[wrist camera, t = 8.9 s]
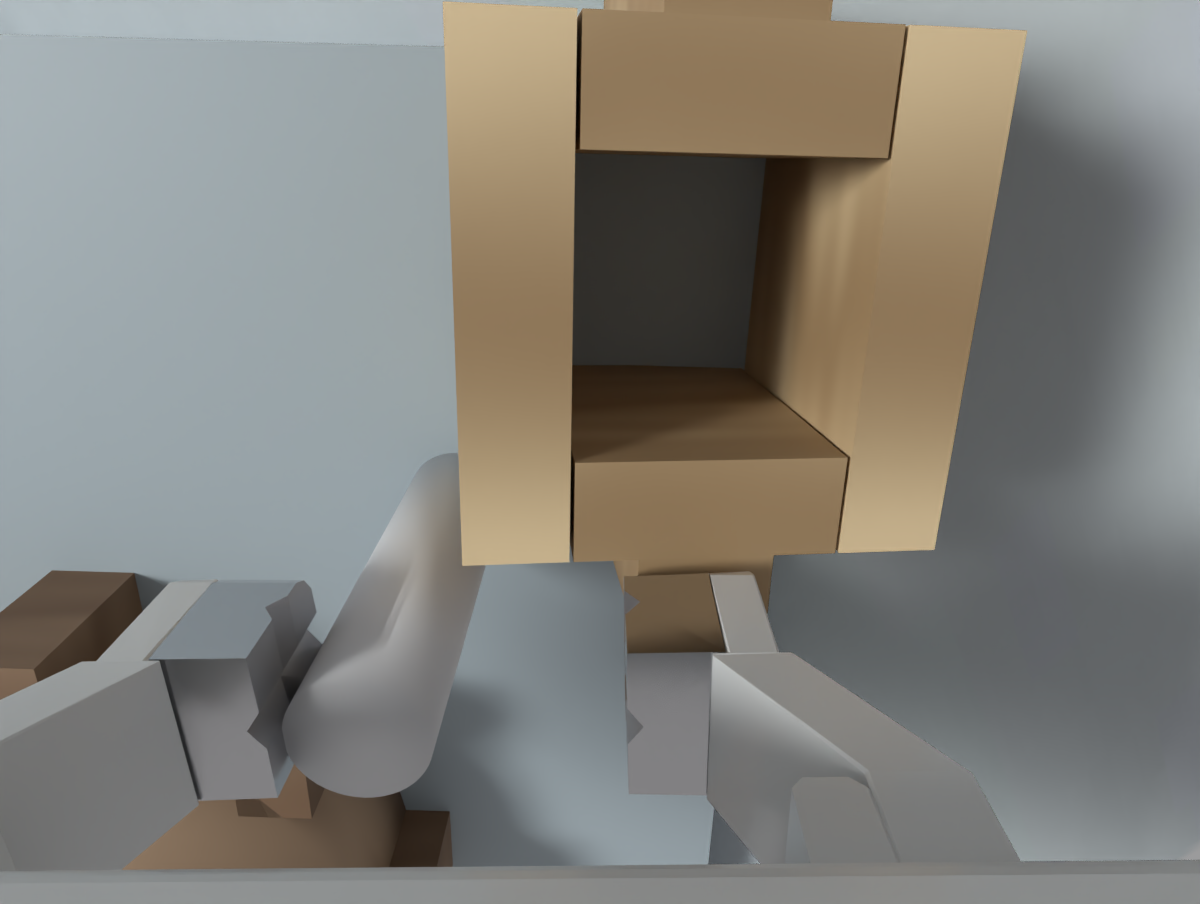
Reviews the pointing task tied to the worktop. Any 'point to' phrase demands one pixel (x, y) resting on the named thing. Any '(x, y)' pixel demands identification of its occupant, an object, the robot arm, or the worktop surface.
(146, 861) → the walnut gear
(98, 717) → the robot arm
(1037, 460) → the worktop surface
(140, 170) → the gear board
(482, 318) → the oak gear
